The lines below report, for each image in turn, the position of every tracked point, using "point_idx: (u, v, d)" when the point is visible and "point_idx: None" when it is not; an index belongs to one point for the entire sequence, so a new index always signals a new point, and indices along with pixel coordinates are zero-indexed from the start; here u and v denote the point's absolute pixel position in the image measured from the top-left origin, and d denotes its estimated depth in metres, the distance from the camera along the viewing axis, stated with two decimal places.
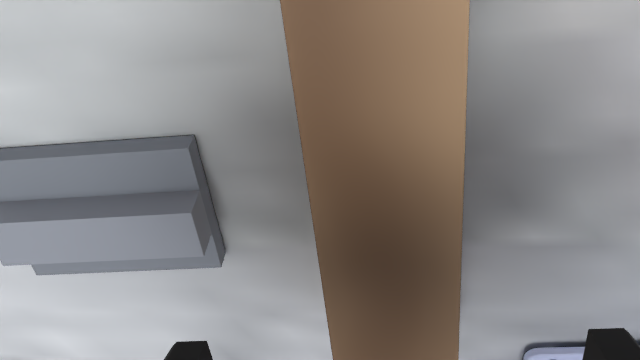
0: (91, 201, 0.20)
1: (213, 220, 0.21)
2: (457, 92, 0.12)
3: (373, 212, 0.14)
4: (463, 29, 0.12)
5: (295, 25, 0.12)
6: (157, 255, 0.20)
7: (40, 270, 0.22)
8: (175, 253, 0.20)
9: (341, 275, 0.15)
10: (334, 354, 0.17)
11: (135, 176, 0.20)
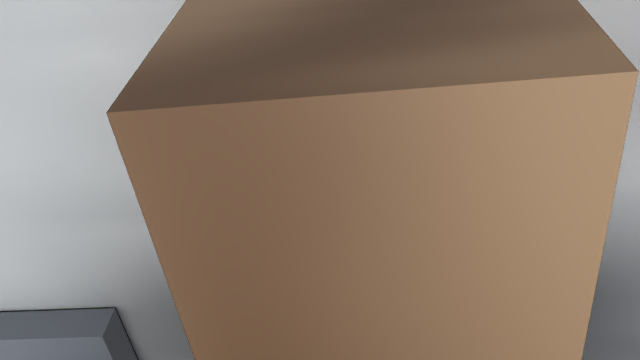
0: None
1: None
2: None
3: None
4: (572, 349, 0.05)
5: (209, 334, 0.05)
6: None
7: None
8: None
9: None
10: None
11: None
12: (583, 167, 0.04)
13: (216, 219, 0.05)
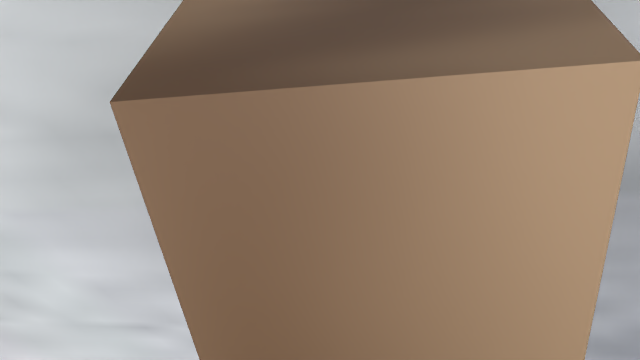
0: None
1: None
2: None
3: None
4: (576, 343, 0.05)
5: (210, 327, 0.05)
6: None
7: None
8: None
9: None
10: None
11: None
12: (589, 158, 0.04)
13: (219, 210, 0.05)
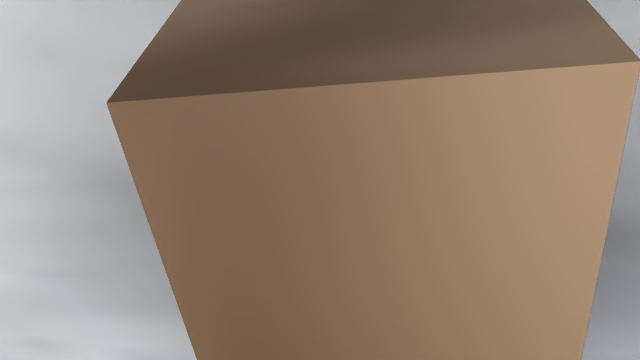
0: None
1: None
2: None
3: None
4: (573, 343, 0.05)
5: (208, 326, 0.05)
6: None
7: None
8: None
9: None
10: None
11: None
12: (585, 158, 0.04)
13: (216, 211, 0.05)
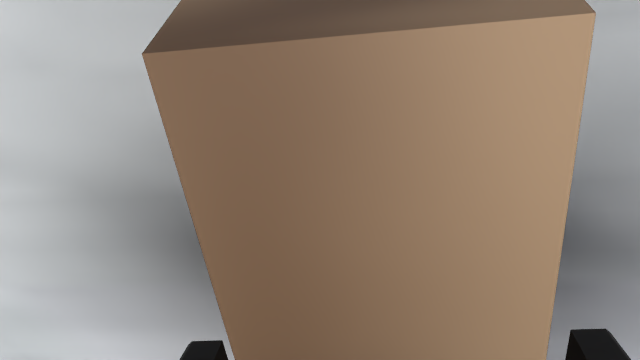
0: None
1: None
2: (528, 359, 0.07)
3: None
4: (548, 274, 0.06)
5: (225, 262, 0.06)
6: None
7: None
8: None
9: None
10: None
11: None
12: (552, 100, 0.05)
13: (234, 152, 0.05)
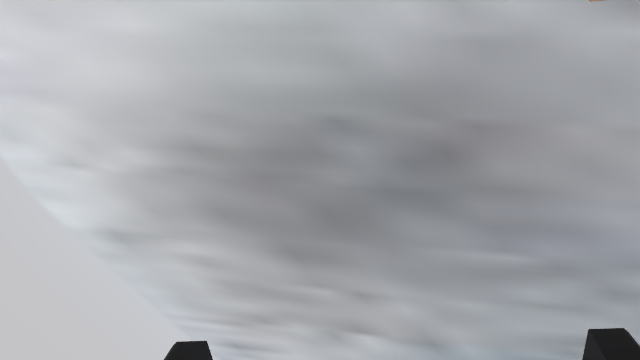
0: None
1: None
2: None
3: None
4: None
5: None
6: None
7: None
8: None
9: None
10: None
11: None
12: None
13: None
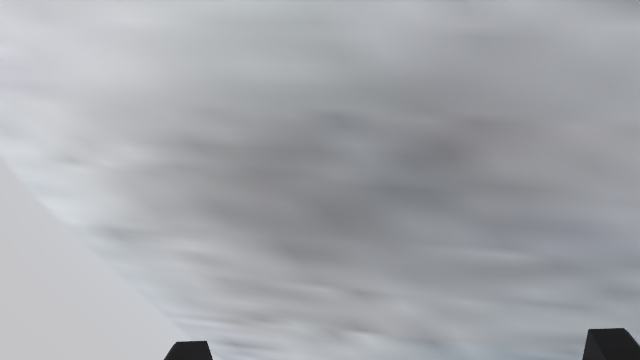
0: None
1: None
2: None
3: None
4: None
5: None
6: None
7: None
8: None
9: None
10: None
11: None
12: None
13: None
